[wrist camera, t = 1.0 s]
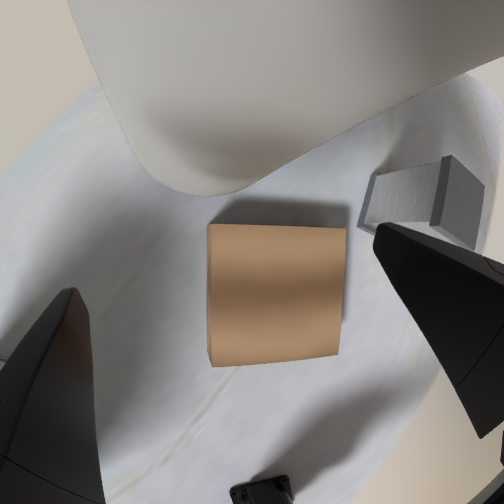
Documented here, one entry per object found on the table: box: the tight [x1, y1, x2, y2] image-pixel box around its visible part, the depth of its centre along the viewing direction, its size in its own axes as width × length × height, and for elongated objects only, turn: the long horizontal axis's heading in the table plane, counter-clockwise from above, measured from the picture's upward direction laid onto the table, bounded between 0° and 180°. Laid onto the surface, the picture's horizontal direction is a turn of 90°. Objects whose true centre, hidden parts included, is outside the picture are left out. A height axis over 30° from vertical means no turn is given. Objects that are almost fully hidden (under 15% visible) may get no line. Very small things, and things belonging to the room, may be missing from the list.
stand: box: [207, 224, 346, 367], centre depth 23 cm, size 10×10×3 cm
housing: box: [356, 155, 485, 251], centre depth 22 cm, size 5×5×10 cm
